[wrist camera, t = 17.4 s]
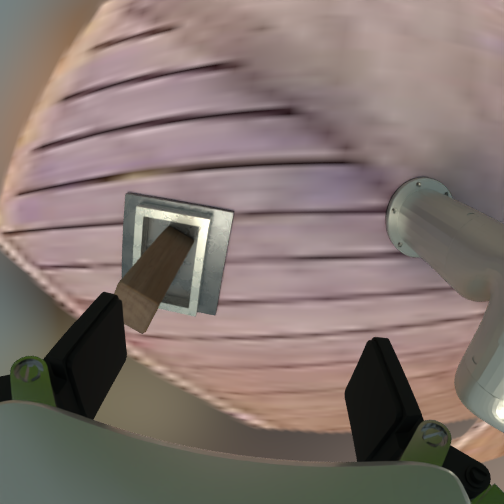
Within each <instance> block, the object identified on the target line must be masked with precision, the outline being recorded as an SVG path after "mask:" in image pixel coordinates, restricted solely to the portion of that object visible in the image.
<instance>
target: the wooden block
mask: <svg viewBox="0 0 504 504" xmlns="http://www.w3.org/2000/svg"><path fill="white" fill-rule="evenodd" d="M193 243H194V240H193V239H191V238H190V237H188V236H186V235H184V234H183V233H181V232H179V231H178V230H176V229H174V228H172V227H171V226H168V227H167V228H166V229H165V230H164V231H163V232H162V233H161V234H160V235H159V236H158V237H157V239H156V240H155V241H154V242H153V243H152V244H151V245H150V247H149V248H148V249H147V250H146V251H145V252H144V253H143V255H142V256H141V257H140V258H139V259H138V260H137V262H136V263H135V264H134V265H133V266H132V267H131V269H130V270H129V271H128V272H127V273H126V274H125V276H124V277H123V278H122V279H121V280H120V282H119V283H118V285H117V288H116V290H115V293H114V294H115V295H117V296H118V297H119V299H120V300H122V304H123V318H124V324H125V325H127V326H129V327H131V328H132V329H134V330H136V331H138V332H139V333H142V334H143V333H144V332H146V330H147V328H148V326H149V324H150V323H151V321H152V319H153V317H154V315H155V313H156V311H157V309H158V307H159V305H160V304H161V302H162V300H163V298H164V296H165V294H166V292H167V290H168V289H169V287H170V285H171V283H172V281H173V279H174V278H175V276H176V274H177V272H178V270H179V268H180V267H181V265H182V263H183V261H184V259H185V258H186V256H187V254H188V252H189V251H190V249H191V247H192V245H193Z"/></svg>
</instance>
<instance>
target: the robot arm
mask: <svg viewBox="0 0 504 504" xmlns="http://www.w3.org/2000/svg"><path fill="white" fill-rule="evenodd" d="M416 183H417V185H416ZM444 193H445V194H444ZM393 208H394V209H393ZM392 209H393V210H392ZM386 229H387V233H388V236H389V239H390V240H391V242H392V243H393V245H394V246H395V247H396V248H397V249H398V250H399V251H400V252H402V253H403V254H405V255H407V256H410V257H421V258H422V259H423V260H424V261H425V262H427V263H428V264H429V265H430V266H431V267H432V268H433V269H434V270H435V271H436V272H437V273H438V274H439V275H440V276H441V277H442V278H443V279H444V280H445V281H446V282H447V283H448V284H449V285H450V286H451V287H452V288H453V289H454V290H455V291H456V292H457V293H459V294H460V295H461V296H462V297H464V298H466V299H468V300H471V301H476V302H486V301H489V304H488V307H487V309H486V311H485V313H484V316H483V319H482V321H481V323H480V325H479V327H478V329H477V331H476V333H475V335H474V337H473V339H472V341H471V343H470V345H469V346H468V348H467V350H466V352H465V354H464V356H463V358H462V360H461V362H460V364H459V366H458V368H457V371H456V374H455V381H454V383H455V389H456V393H457V395H458V397H459V399H460V400H461V402H462V403H463V404H464V405H465V407H466V408H467V409H469V410H470V411H471V412H472V413H473V414H475V415H476V416H477V417H479V418H480V419H482V420H483V421H485V422H486V423H488V424H490V425H491V426H493V427H495V428H496V429H498V430H500V431H501V432H503V433H504V224H503V223H501V222H499V221H497V220H495V219H493V218H491V217H489V216H487V215H485V214H483V213H481V212H479V211H477V210H475V209H473V208H471V207H469V206H467V205H465V204H463V203H461V202H459V201H457V200H455V199H453V197H452V195H451V193H450V192H449V190H448V189H447V188H446V187H445V186H444V185H443V184H442V183H440V182H438V181H436V180H434V179H431V178H425V177H421V178H415V179H412V180H410V181H408V182H406V183H405V184H403V185H402V186H401V187H400V188H399V189H398V190H397V191H396V192H395V194H394V195H393V197H392V199H391V201H390V203H389V206H388V209H387V214H386ZM126 357H127V351H126V341H125V330H124V318H123V304H122V300H120V299H119V297H118V296H117V295H115V294H111V293H107V292H103V293H101V294H100V296H99V297H98V298H97V299H96V300H95V301H94V302H93V303H92V304H91V305H90V307H89V308H88V309H87V310H86V311H85V312H84V313H83V314H82V315H81V317H80V318H79V319H78V320H77V321H76V322H75V323H74V324H73V325H72V326H71V327H70V328H69V329H68V331H67V332H66V333H65V334H64V335H63V336H62V338H61V339H60V340H59V341H58V342H57V343H56V345H55V346H54V347H53V348H52V349H51V351H50V352H49V353H48V354H47V355H46V357H45V358H44V359H41V358H39V357H36V356H25V357H22V358H20V359H18V360H17V361H15V362H14V364H13V365H12V367H11V370H10V375H6V376H1V377H0V504H504V492H503V491H502V490H501V489H500V488H499V487H498V486H497V485H496V484H493V485H491V484H490V480H491V478H490V473H489V471H488V469H487V468H486V467H485V466H484V465H483V464H482V463H480V462H478V461H476V460H475V459H473V458H471V457H469V456H468V455H466V454H464V453H463V452H461V451H459V450H458V449H456V448H454V447H452V446H451V445H450V444H451V440H452V438H451V433H450V431H449V430H448V428H447V427H446V426H445V425H443V424H442V423H441V422H438V421H436V420H425V421H424V420H423V417H422V414H421V411H420V409H419V406H418V404H417V402H416V399H415V397H414V394H413V392H412V390H411V387H410V385H409V383H408V380H407V378H406V376H405V373H404V371H403V369H402V367H401V365H400V362H399V360H398V358H397V356H396V354H395V351H394V349H393V347H392V345H391V343H390V341H389V339H388V338H380V337H373V338H372V340H369V341H368V342H367V343H366V346H365V348H364V350H363V353H362V355H361V357H360V359H359V362H358V364H357V366H356V368H355V370H354V373H353V375H352V377H351V379H350V381H349V383H348V385H347V387H346V390H345V401H346V406H347V411H348V416H349V421H350V426H351V431H352V436H353V441H354V446H355V452H356V457H357V462H311V461H292V460H278V459H268V458H267V459H266V458H257V457H249V456H241V455H234V454H227V453H221V452H215V451H209V450H204V449H199V448H194V447H189V446H184V445H179V444H175V443H171V442H166V441H162V440H158V439H154V438H151V437H146V436H143V435H140V434H136V433H133V432H129V431H126V430H123V429H120V428H117V427H113V426H110V425H107V424H104V423H101V422H98V421H95V420H93V419H94V417H95V416H96V413H97V411H98V410H99V408H100V406H101V404H102V402H103V401H104V399H105V397H106V395H107V393H108V391H109V390H110V388H111V386H112V384H113V382H114V381H115V379H116V377H117V375H118V373H119V372H120V370H121V368H122V366H123V364H124V363H125V361H126Z"/></svg>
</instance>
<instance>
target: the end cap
mask: <svg viewBox="0 0 504 504" xmlns="http://www.w3.org/2000/svg"><path fill="white" fill-rule="evenodd" d="M233 214H234V211H230V210H225V209H220V208H214V207H209V206H204V205H198V204H193V203H187V202H181V201H176V200H170V199H164V198H158V197H153V196H147V195H141V194H134V193H126V195H125V208H124V223H123V244H122V278H123V277H124V276H125V274H126V273H127V272H128V271H129V270H130V269H131V267H132V266H133V265H134V264H135V263H136V262H137V260H138V259H139V258H140V257H141V256H142V255H143V253H144V252H145V251H146V250H147V249H148V248H149V247H150V245H151V244H152V243H153V242H154V241H155V240H156V239H157V237H158V236H159V235H160V234H161V233H162V232H163V231H164V230H165V229H166V228H167V227H168V226H171V227H172V228H174V229H176V230H178V231H179V232H181V233H183V234H184V235H186V236H188V237H190V238H191V239H193V240H194V243H193V245H192V247H191V249H190V251H189V252H188V254H187V256H186V258H185V259H184V261H183V263H182V265H181V267H180V268H179V270H178V272H177V274H176V276H175V278H174V279H173V281H172V283H171V285H170V287H169V289H168V290H167V292H166V294H165V296H164V298H163V300H162V302H161V304H160V305H159V307H158V308H159V309H163V310H168V311H172V312H177V313H181V314H186V315H191V316H196V315H197V312H200V313H205V314H210V315H216V310H217V304H218V298H219V292H220V286H221V280H222V275H223V269H224V263H225V258H226V252H227V246H228V241H229V235H230V230H231V225H232V219H233Z"/></svg>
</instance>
